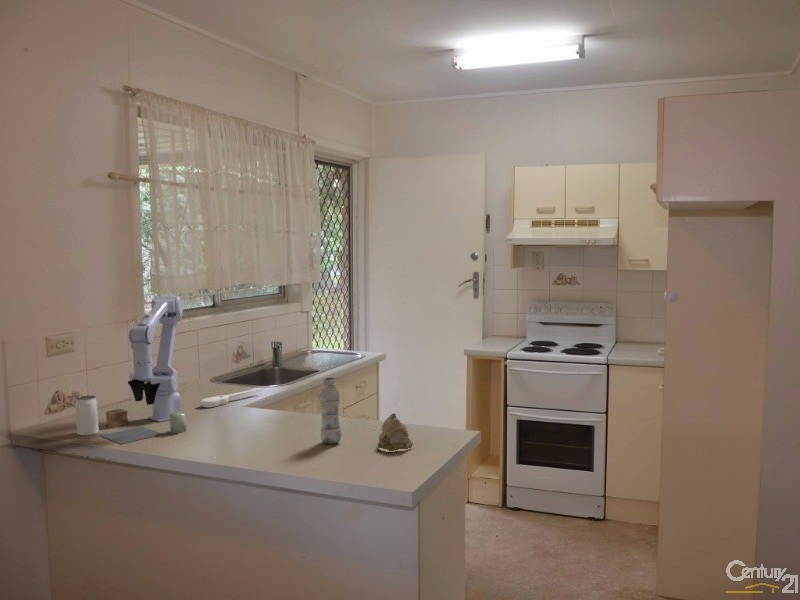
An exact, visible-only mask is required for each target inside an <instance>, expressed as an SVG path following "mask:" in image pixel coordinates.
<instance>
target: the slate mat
mask: <svg viewBox="0 0 800 600" xmlns="http://www.w3.org/2000/svg"><path fill="white" fill-rule="evenodd" d="M161 434H163V433H161V432H158V431H155V430H152V429H150V428H146V427H143V426H138V427H134V428H131V429H124V430H119V431H116V432H111V433H107V434H103V435H100V437H102V438H104V439H106V440H109V441H112V442H114V443H116V444H119V445H125V444H128V443H133V441H134V442H138V441H142V440H145V438H146V439H150V438H153V436H154V437H157V435H159V436H162V435H161ZM149 437H150V438H149ZM141 439H142V440H141ZM137 440H138V441H137Z"/></svg>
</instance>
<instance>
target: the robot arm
mask: <svg viewBox="0 0 800 600" xmlns="http://www.w3.org/2000/svg"><path fill="white" fill-rule="evenodd" d="M183 311H184V302H183V299H182V297H181V296H179V295H176V296H175V295H173V296H158V295H157V296H153V297H152V299H151V309H150V311H149V313H145V315H144V316H143V317H142V318H141V319H140V321H139V322H138V324H137V325H136V326H135V325H134V326H133V327H131V328H130V329H129V331H128V340H129V342H130V348H131V349H132V359H133V361H132V362H133V372H130V373H129V379H131V380H128V381H127V384H128V385H129V387H130V389H131V392H132V395H133V397H134V400H135V402H141V401H143V400H144V399H143V398H144V397H145V402H146V405H147V406H150V405H151V407H152V409H151V410H152V415H151V416H148V417H147V419H148V420H149V419H150V420H153V421H156V422H164V421H168V420H169V421H170V414H171V413H175V412H182V410H183V409H182V397H181V395H180V392H178V391H177V390H178V386H179V379H178V378H179V374H178V371H177V370H176V369H175V368H173V367H172V362H173V355H174V349H175V348H174V346H175V339H176V334H177V333H176V332H177V326H178V323H179V322H181V321H182V317H183V313H184V312H183ZM160 323H161V324H162V325H161V327H162V328H161V331H160V332H161V333H160V340H159V341H160V342H159V348H158V355H157V360H156V365H155V366H154V367H153V357H152V355H153V354H152V343H153V341H154V337H155V333H156V330H157V329H158V327H159V325H160ZM144 395H145V396H144Z"/></svg>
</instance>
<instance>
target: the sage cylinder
mask: <svg viewBox="0 0 800 600" xmlns="http://www.w3.org/2000/svg"><path fill="white" fill-rule="evenodd" d="M186 418H187V417H186V412H184V411H183V412H175V413H171V414H170V419H169V428H170V429H169V430H170V431H169V432H171V433H170V434H172V433H181V434H183V433H182V432H185V431H186V432H187V419H186ZM186 432H185V433H186Z"/></svg>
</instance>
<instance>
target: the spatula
mask: <svg viewBox="0 0 800 600" xmlns="http://www.w3.org/2000/svg"><path fill="white" fill-rule="evenodd" d="M262 390H263V388H262V387H256V388H253V389H248V390H244V391H239V392H234V393H230V394H226V395H225V394H224V395H223V394H222V395H217V396H211V397H207V398H202V399H201V400H200V406H201V407H203V408H214V407H218V406H223V405H228V404H229V398H231V397H233V396H238V395H243V394H247V393H252V392H256V391H257V392H259V391H262Z"/></svg>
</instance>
